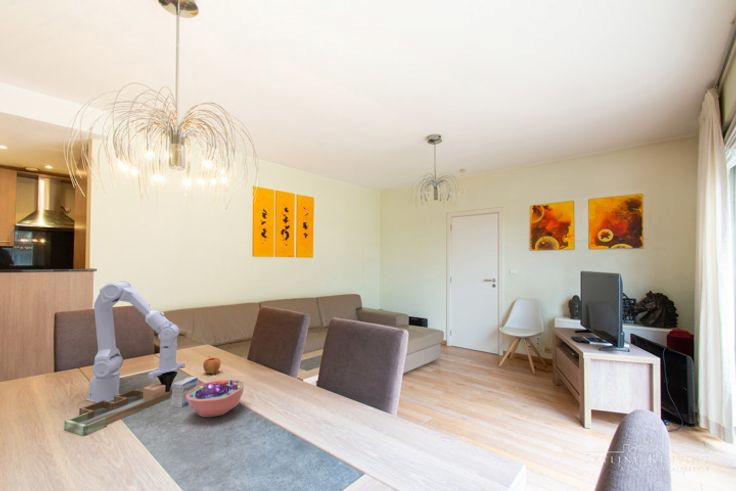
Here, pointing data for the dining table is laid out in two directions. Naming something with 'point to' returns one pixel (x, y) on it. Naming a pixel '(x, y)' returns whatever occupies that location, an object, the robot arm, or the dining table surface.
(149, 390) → the block
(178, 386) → the medicine box
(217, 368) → the apple
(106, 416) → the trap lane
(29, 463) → the dining table surface
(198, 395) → the cell model
